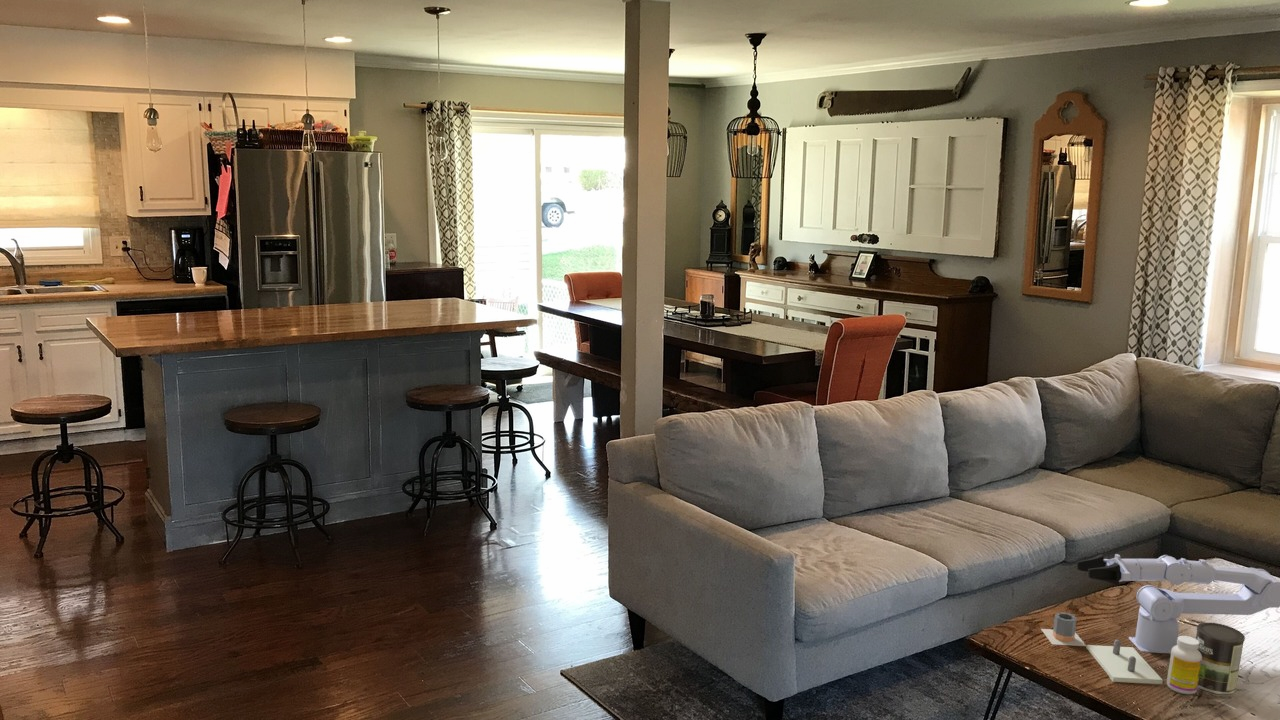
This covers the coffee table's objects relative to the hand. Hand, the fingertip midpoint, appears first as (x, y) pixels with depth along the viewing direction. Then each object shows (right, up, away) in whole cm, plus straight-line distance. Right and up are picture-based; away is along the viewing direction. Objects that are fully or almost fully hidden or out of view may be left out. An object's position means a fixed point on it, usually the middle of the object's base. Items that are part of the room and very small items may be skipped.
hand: (1082, 569), depth 263 cm
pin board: (+6, -23, -8) cm, 25 cm away
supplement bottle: (+16, -26, -19) cm, 35 cm away
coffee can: (+25, -25, -16) cm, 39 cm away
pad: (-3, -20, +6) cm, 21 cm away
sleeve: (-3, -20, +6) cm, 21 cm away
